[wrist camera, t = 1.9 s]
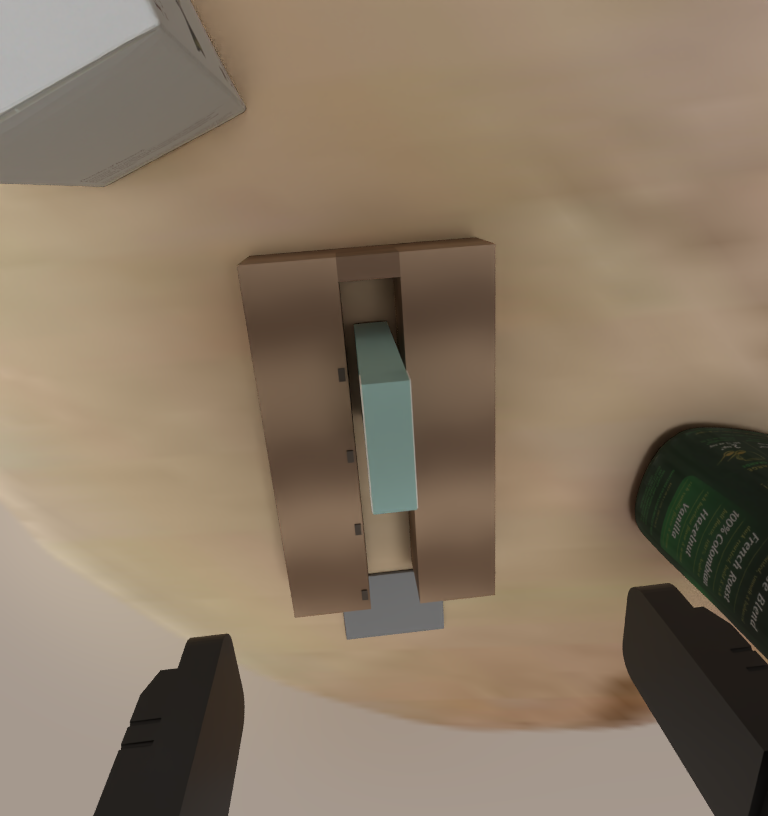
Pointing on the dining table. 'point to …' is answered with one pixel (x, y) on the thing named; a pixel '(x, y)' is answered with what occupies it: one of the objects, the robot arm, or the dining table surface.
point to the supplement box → (103, 87)
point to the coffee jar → (714, 519)
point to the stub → (386, 419)
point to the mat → (393, 608)
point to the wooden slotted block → (333, 422)
